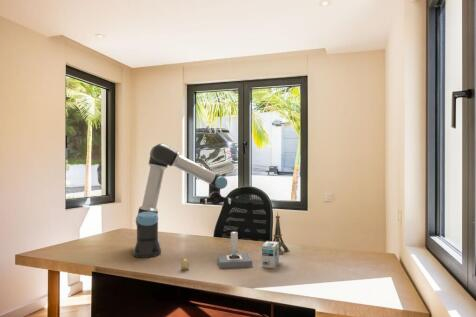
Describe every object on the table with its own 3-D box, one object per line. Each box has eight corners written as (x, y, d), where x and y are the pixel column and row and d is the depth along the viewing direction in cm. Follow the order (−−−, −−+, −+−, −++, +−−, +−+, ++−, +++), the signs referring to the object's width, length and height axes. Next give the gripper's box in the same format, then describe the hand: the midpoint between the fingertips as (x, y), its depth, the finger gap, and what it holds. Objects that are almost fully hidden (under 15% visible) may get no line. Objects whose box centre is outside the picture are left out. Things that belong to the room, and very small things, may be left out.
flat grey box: (220, 268, 155) (219, 262, 155) (217, 260, 169) (217, 254, 169) (252, 267, 157) (252, 260, 158) (247, 258, 171) (247, 252, 171)
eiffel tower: (281, 255, 178) (281, 210, 178) (265, 252, 184) (265, 209, 184) (290, 251, 186) (289, 208, 187) (274, 248, 192) (274, 207, 193)
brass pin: (181, 271, 152) (180, 260, 152) (181, 268, 155) (181, 258, 156) (188, 270, 152) (188, 260, 152) (188, 268, 156) (188, 258, 156)
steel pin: (231, 264, 161) (231, 233, 162) (230, 262, 165) (230, 231, 165) (238, 264, 162) (238, 232, 162) (237, 262, 165) (237, 231, 166)
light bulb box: (275, 268, 155) (274, 246, 155) (261, 267, 157) (261, 245, 157) (279, 262, 165) (279, 241, 165) (266, 261, 167) (266, 240, 167)
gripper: (235, 203, 201) (240, 208, 180) (195, 204, 198) (195, 209, 177) (235, 191, 201) (240, 194, 180) (195, 192, 198) (195, 195, 177)
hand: (218, 201), depth 178 cm, fingers open, 13 cm apart
